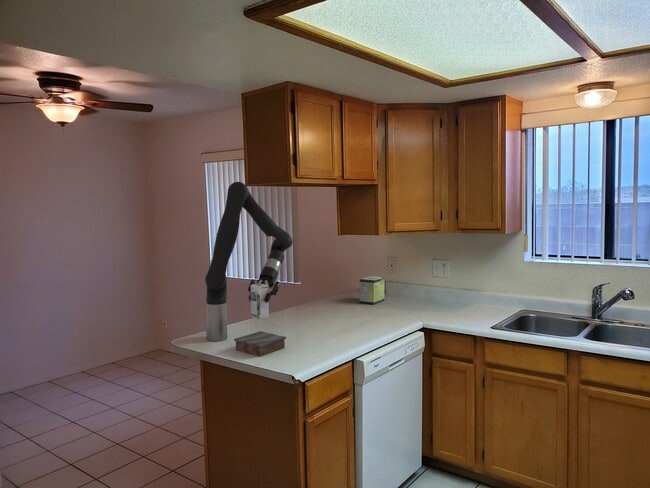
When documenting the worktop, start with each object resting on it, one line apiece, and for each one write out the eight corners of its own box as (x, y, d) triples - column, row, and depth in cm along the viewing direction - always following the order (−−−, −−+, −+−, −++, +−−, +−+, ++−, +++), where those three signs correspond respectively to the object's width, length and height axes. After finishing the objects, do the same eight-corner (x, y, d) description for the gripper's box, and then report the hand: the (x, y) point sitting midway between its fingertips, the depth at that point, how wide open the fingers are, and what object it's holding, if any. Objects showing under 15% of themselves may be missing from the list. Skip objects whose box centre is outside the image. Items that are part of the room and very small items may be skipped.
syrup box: (250, 317, 212) (249, 284, 211) (261, 315, 216) (260, 282, 215) (258, 319, 208) (257, 286, 207) (269, 317, 212) (268, 284, 211)
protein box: (384, 300, 316) (384, 277, 314) (373, 305, 302) (374, 280, 301) (370, 299, 321) (370, 275, 320) (359, 303, 308) (359, 279, 307)
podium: (234, 350, 212) (234, 338, 212) (260, 341, 225) (260, 331, 224) (260, 357, 202) (259, 345, 202) (286, 348, 215) (286, 337, 214)
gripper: (253, 265, 220) (240, 295, 210) (281, 266, 214) (269, 297, 205) (260, 274, 225) (247, 304, 216) (287, 276, 220) (275, 307, 210)
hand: (257, 301), depth 210 cm, fingers closed on syrup box, 7 cm apart
